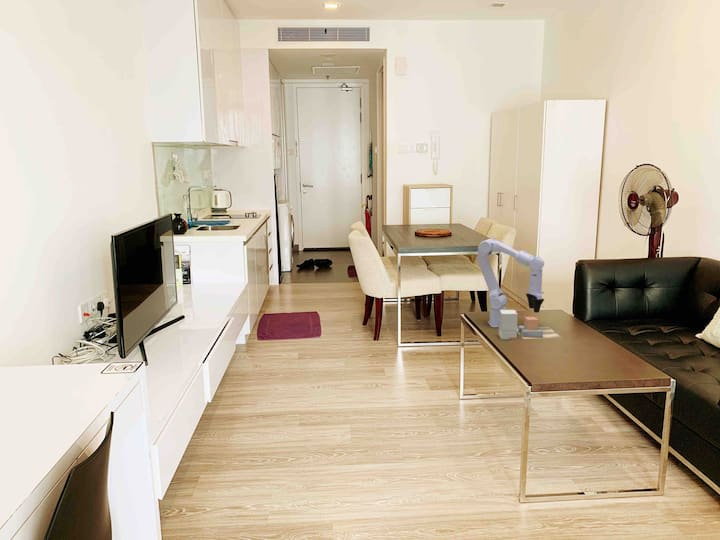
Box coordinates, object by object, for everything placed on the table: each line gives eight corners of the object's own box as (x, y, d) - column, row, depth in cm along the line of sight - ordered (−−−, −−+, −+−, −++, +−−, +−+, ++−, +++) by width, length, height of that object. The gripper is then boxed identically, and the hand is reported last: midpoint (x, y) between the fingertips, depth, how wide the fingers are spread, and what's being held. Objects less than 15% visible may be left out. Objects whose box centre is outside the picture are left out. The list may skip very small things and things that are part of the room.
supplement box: (513, 335, 265) (515, 309, 262) (516, 340, 257) (518, 313, 255) (498, 334, 265) (499, 309, 263) (500, 339, 258) (501, 313, 256)
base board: (512, 328, 274) (513, 321, 273) (549, 328, 274) (549, 321, 273) (523, 340, 256) (523, 332, 256) (561, 340, 256) (562, 332, 256)
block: (523, 326, 264) (524, 316, 263) (534, 326, 264) (535, 316, 263) (526, 330, 259) (527, 319, 258) (537, 330, 259) (538, 319, 258)
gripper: (548, 286, 259) (547, 314, 262) (539, 279, 274) (537, 306, 276) (533, 286, 259) (532, 314, 262) (524, 279, 274) (523, 306, 276)
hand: (533, 310), depth 269 cm, fingers open, 7 cm apart
